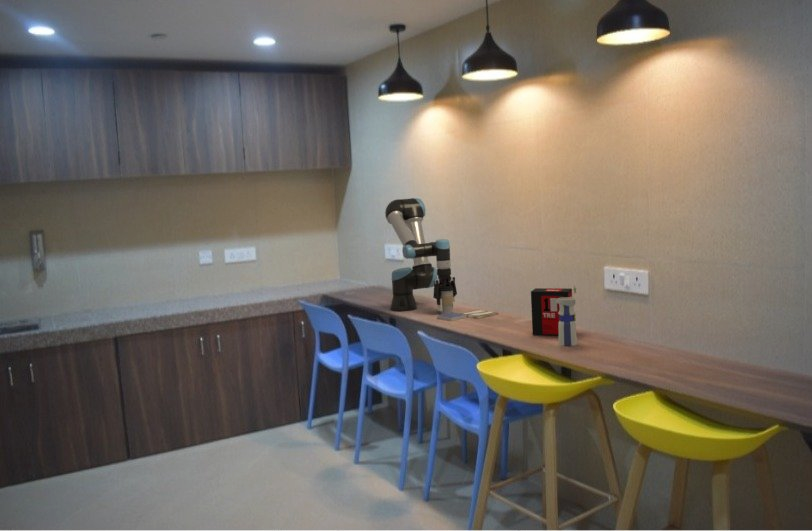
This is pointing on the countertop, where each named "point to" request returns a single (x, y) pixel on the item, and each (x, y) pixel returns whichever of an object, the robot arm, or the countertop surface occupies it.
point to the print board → (479, 314)
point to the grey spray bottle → (567, 321)
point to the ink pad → (451, 316)
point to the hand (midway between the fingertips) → (446, 309)
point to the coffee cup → (446, 299)
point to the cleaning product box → (546, 310)
